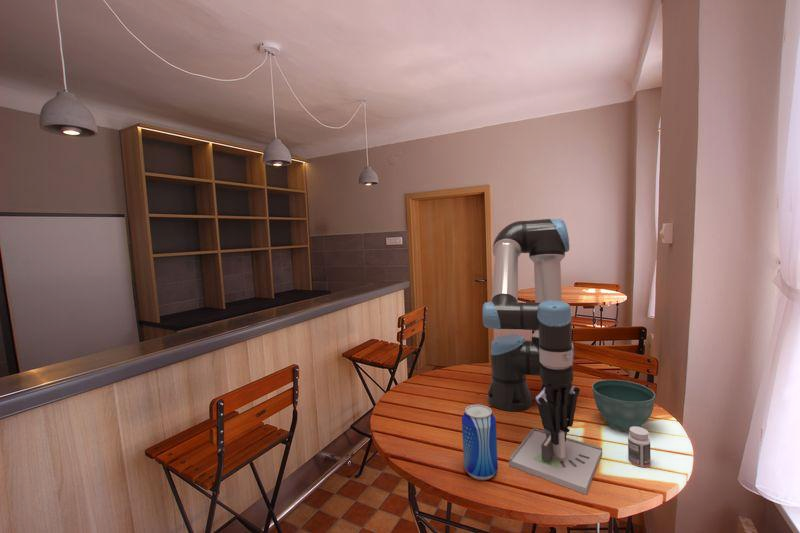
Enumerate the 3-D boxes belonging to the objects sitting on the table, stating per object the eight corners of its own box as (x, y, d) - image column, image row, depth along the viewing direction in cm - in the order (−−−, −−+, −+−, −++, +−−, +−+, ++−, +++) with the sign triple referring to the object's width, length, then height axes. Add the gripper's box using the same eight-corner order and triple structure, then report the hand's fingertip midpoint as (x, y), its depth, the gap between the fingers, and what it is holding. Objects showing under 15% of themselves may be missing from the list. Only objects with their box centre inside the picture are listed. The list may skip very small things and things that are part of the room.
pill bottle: (647, 457, 92) (647, 426, 91) (653, 469, 88) (653, 436, 87) (625, 454, 94) (625, 424, 93) (631, 466, 89) (630, 434, 89)
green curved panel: (532, 459, 91) (532, 459, 91) (543, 443, 98) (543, 442, 98) (581, 476, 84) (581, 475, 84) (589, 457, 91) (589, 456, 91)
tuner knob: (547, 438, 100) (547, 421, 100) (570, 445, 96) (569, 427, 96) (533, 459, 91) (533, 440, 91) (557, 467, 88) (557, 447, 87)
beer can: (460, 462, 94) (457, 404, 93) (491, 459, 95) (489, 401, 94) (469, 484, 86) (466, 420, 85) (503, 480, 87) (500, 417, 85)
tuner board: (509, 465, 92) (508, 458, 92) (533, 433, 106) (533, 427, 106) (586, 494, 80) (585, 486, 80) (602, 454, 94) (601, 447, 94)
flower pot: (581, 421, 111) (580, 387, 110) (611, 406, 119) (611, 375, 118) (636, 445, 97) (636, 407, 96) (666, 427, 105) (666, 392, 104)
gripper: (546, 374, 82) (550, 470, 84) (588, 364, 87) (590, 455, 89) (524, 364, 89) (528, 453, 91) (564, 355, 94) (566, 440, 96)
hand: (559, 454), depth 90 cm, fingers closed
